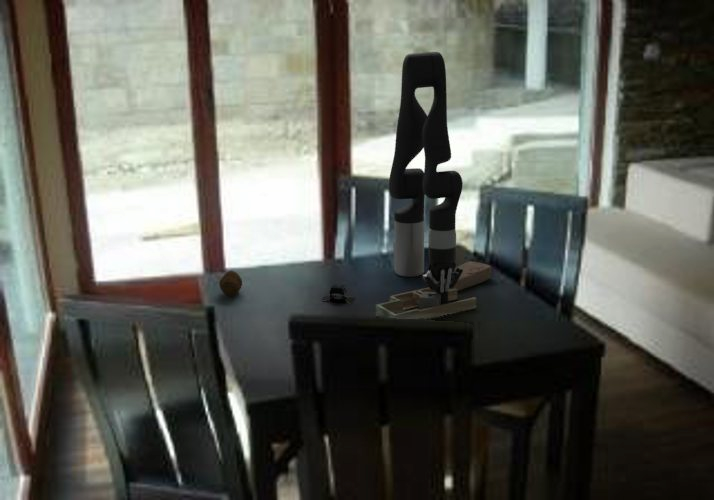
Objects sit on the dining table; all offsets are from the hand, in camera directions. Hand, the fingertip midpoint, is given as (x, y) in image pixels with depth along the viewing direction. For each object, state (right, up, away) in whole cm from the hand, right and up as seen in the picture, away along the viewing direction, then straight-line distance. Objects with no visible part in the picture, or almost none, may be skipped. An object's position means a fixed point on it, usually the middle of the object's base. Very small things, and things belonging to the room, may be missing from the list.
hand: (442, 303), depth 229 cm
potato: (-61, +1, +16) cm, 63 cm away
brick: (+9, +5, +22) cm, 24 cm away
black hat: (-29, 0, +10) cm, 31 cm away
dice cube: (-3, -2, -2) cm, 5 cm away
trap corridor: (-6, -2, 0) cm, 6 cm away
